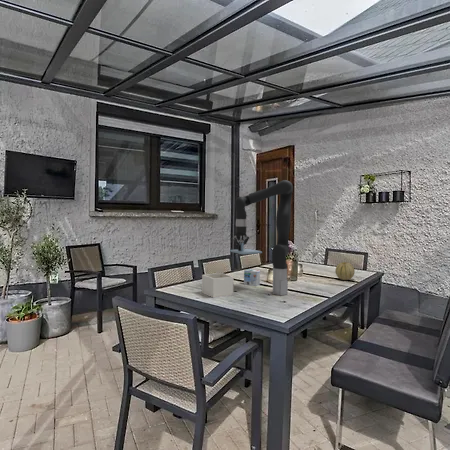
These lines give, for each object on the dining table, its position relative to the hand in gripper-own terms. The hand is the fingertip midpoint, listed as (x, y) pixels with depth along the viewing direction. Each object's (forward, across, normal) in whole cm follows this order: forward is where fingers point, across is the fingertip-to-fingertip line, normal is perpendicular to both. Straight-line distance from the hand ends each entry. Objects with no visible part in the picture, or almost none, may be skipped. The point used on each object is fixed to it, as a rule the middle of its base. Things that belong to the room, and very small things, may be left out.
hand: (240, 250), depth 233 cm
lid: (+1, +4, 0) cm, 5 cm away
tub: (+27, -20, -3) cm, 34 cm away
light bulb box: (+28, +17, +9) cm, 34 cm away
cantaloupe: (+27, +94, -13) cm, 99 cm away
